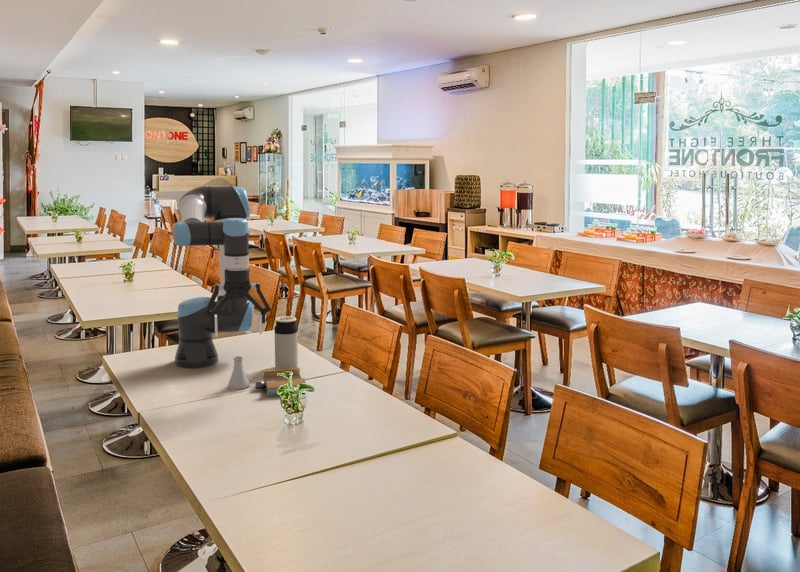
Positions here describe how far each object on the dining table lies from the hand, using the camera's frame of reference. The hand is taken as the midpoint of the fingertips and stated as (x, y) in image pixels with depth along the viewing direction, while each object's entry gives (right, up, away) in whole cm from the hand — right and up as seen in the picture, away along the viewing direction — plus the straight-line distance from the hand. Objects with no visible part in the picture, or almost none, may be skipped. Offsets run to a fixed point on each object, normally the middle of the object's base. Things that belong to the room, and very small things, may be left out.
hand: (238, 334), depth 218 cm
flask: (-2, -18, +8) cm, 20 cm away
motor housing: (+12, -18, +7) cm, 22 cm away
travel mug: (+10, -14, +29) cm, 34 cm away
